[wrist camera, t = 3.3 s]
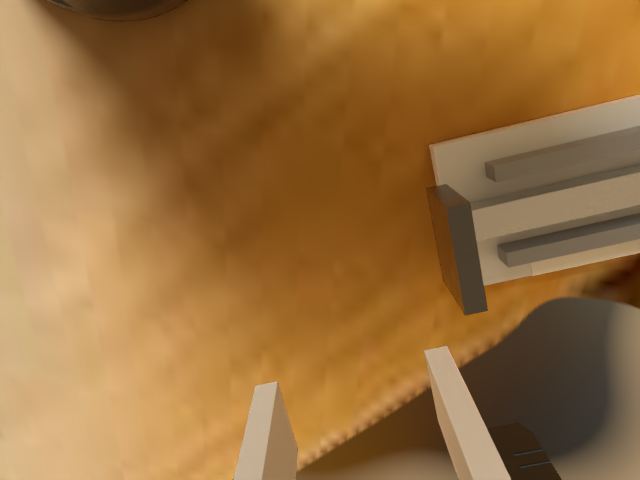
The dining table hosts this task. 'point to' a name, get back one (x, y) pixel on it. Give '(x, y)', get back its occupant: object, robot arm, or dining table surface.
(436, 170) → the base
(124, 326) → the dining table surface
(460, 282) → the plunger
